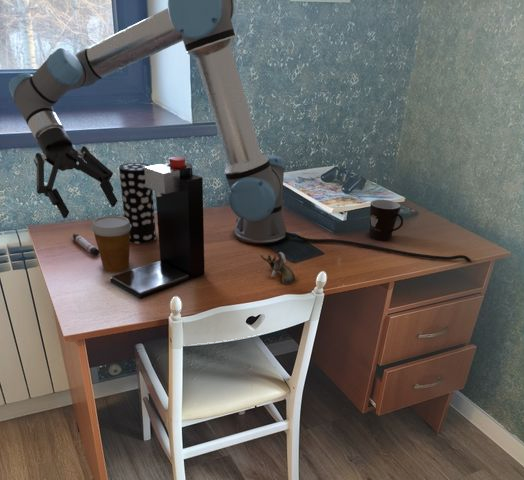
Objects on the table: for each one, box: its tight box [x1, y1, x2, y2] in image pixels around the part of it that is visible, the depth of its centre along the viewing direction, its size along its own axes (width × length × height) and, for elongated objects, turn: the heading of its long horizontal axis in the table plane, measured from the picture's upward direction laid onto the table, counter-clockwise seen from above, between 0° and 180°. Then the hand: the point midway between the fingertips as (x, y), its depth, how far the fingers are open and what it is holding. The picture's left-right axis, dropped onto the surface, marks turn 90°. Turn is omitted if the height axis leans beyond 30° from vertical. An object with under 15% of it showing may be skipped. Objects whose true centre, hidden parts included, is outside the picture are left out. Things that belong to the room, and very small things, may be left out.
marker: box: [72, 233, 100, 257], centre depth 146 cm, size 15×2×2 cm, turn 38°
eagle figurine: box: [260, 251, 296, 285], centre depth 133 cm, size 8×7×9 cm
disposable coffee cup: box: [90, 215, 132, 273], centre depth 133 cm, size 10×10×12 cm
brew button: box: [168, 156, 186, 168], centre depth 122 cm, size 4×4×2 cm
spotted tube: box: [118, 162, 157, 245], centre depth 147 cm, size 8×8×20 cm
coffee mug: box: [368, 199, 404, 242], centre depth 158 cm, size 12×9×10 cm
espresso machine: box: [109, 163, 192, 300], centre depth 123 cm, size 12×15×26 cm
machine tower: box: [155, 162, 206, 281], centre depth 129 cm, size 12×6×26 cm, turn 47°
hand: (91, 209), depth 134 cm, fingers open, 13 cm apart
